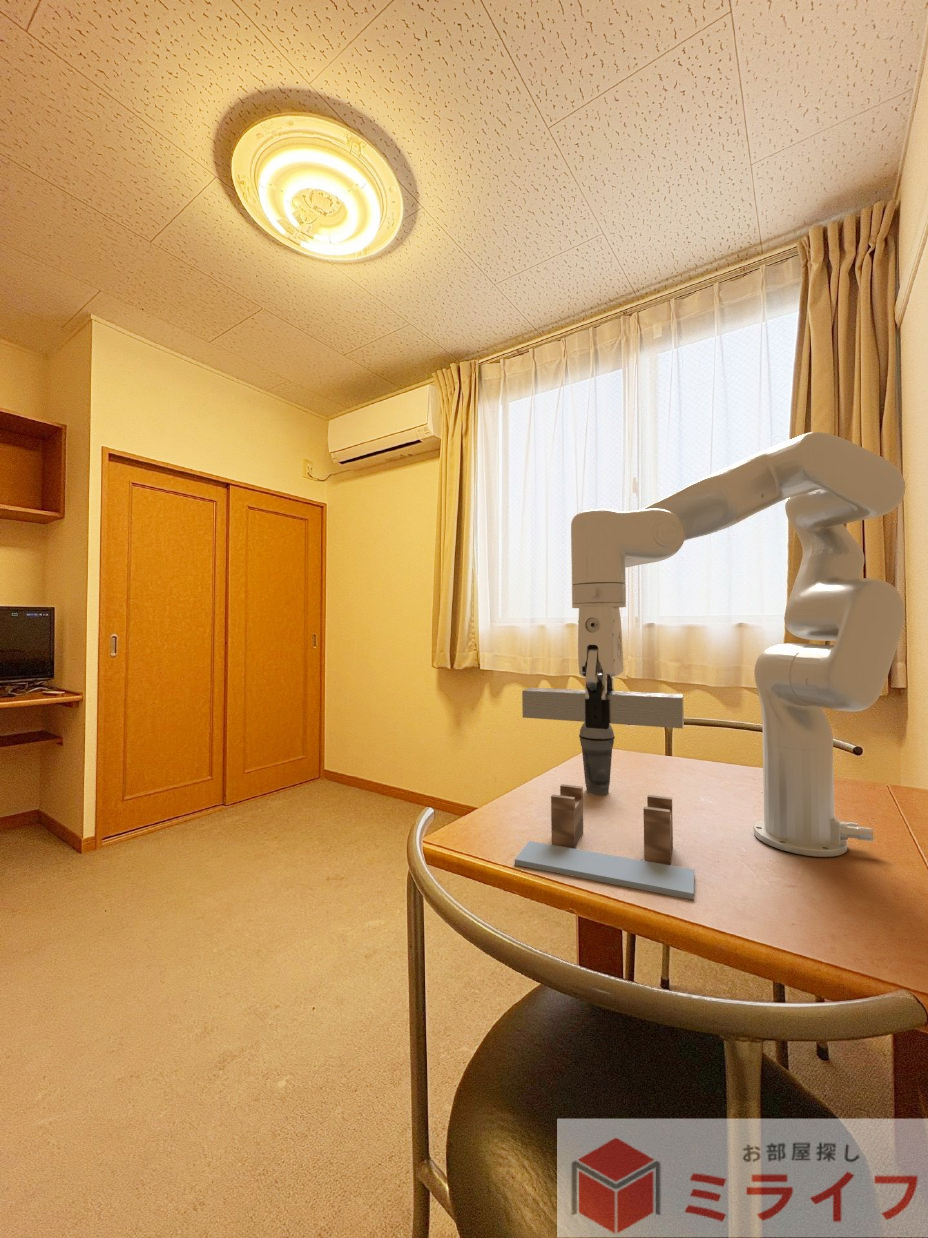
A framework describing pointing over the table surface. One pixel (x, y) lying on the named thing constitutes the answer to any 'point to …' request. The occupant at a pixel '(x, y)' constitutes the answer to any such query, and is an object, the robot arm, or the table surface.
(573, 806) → the post far
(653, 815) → the post near
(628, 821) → the table surface
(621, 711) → the rail
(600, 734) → the beverage cup
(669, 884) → the grey board
